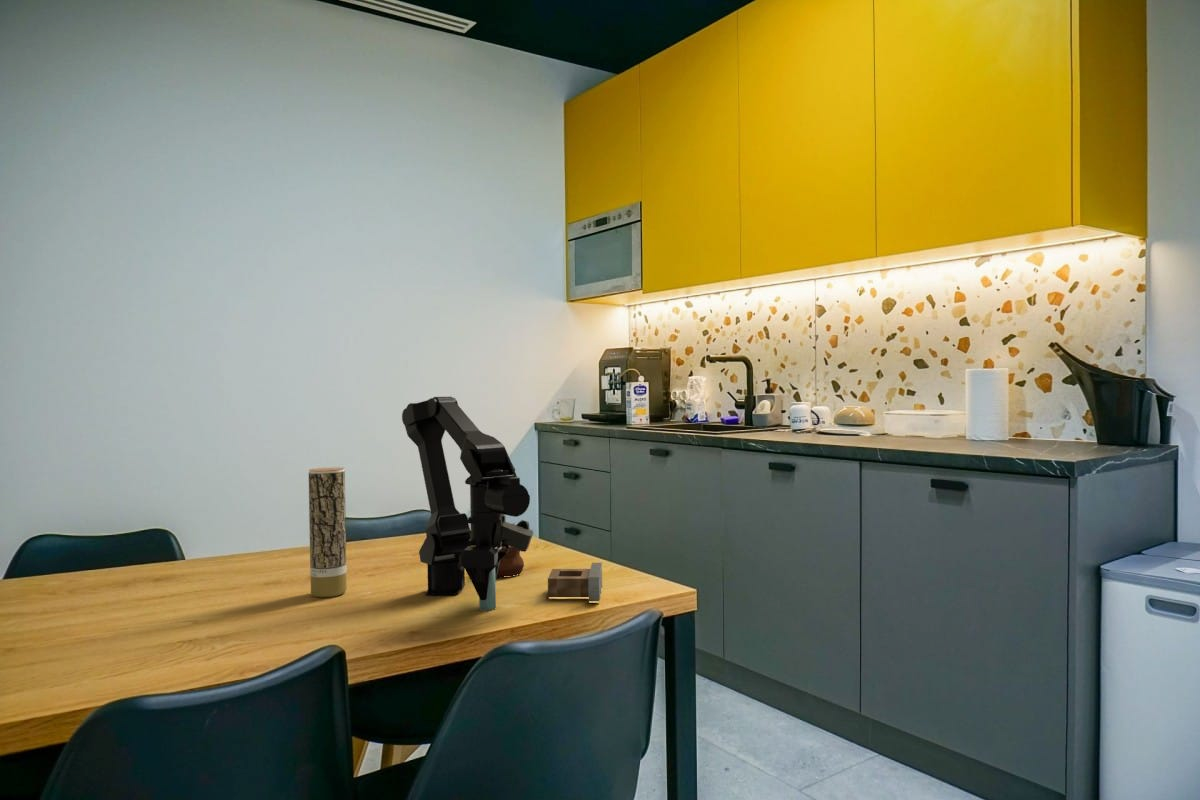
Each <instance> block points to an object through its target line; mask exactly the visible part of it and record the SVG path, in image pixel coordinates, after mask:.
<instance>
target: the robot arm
mask: <svg viewBox="0 0 1200 800" xmlns="http://www.w3.org/2000/svg"><path fill="white" fill-rule="evenodd" d="M401 420H402V423H403V425H404V428H405V431H406V435H407V437H408V438H409V439H410V441H412V442H413V444H415V445H416V446H417V448H418V454H419V459H420V464H421V471H422V474H423V480H424V484H425V489H426V493H427V494H426V495H427V499H428V505H429V510H430V517H429V519H428V521H427V525H426V527H425V535H426V537H425V539H424V541H423V543H422V545H421V546H420V548H419V551H418V556H419V559H420V562H421V563H423V564H426V565H427V589H426V591H424V593H425V595H427V596H429V595H430V596H431V595H433V596H435V595H438V596H440V595H443V596H444V595H446V596H448V595H450V596H451V595H452V596H453V595H454V596H455V595H459V593H460V592H461V591H462V590H463V589H464V587H465V586H466V582H465V581H466V580H465V579H466V578H465V575H467V576H468V577H469V580H470V582H471V584H472V585H473V587H474V589H475V592H476V594H477V596H478V598H480V600H486V599H487V594H488V588H489V581H490V574H491V571H492V570H493V569H494V568H495V584H496V582H497V573H498V568H499V564H500V560H501V559H502V558H503V557H504V555H505V554H506V553H507V552H508V551H509V549H501V546H502V545H506V548H509V547H510V546H512V547H514V548H517V549H518V550H519V551H520V552H524V553H525V552H527V550H528V549H529V547H530V544H531V541H532V538H533V535H534V531H533V529H531V528H530V522H529V521H527V520H524V519H521V520H520V521H518V522H517V524H515V523H513V522H512V523H510V522H507V520H506V516H509V517H519V516H522V515H523V514H524V513H526V512H527V510H528V508H529V506H530V502H531V496H530V494H529V492H528V489H527V488H526V487H525V486H524V485H523V484H521V478H520V477H519V476H518V475H517V474H516V468H515V466H514V464H513V463H512V461H511V458H510V457H509V454H508V451H507V449H506V447H505V445H504V444H503V443H502V442H501V441H499V440H498V438H496V437H494V436H492V435H489V434H487V433H484V432H482V431H481V430H480V429H479V428H478V427H477V426H476V424H475V423H474V421H472V420H471V418H470V417H469V416H468V415H467V414H466V413H465V412H464V410H463V409H462V408H461V407H460V405H459V403H458V400H457V398H455V397H453V396H433V397H430V398H429V399H427V400H423V401H420V402H412V403H411V402H410V403H408V404H407V405H406V408H404V409H403V410H402V413H401ZM445 432H447V434H448V435H449V436H450V438H451V439H452V440H453V441H454V442H455V444H456V445H457V447H458V448H459V450H460V456H459V460H460V461H461V463H462V465H463V466H464V469H465V470H466V471H467V472H468V474H469V477H467V478H466V479H465V481H464V483H465V485H469V490H470V491H469V496H470V497H469V498H470V499H469V500H470V501H469V502H470V503H469V504H470V505H469V506H470V507H469V508H470V516H468V515H467V514H466V513H465V512H464V513H463V512H462V513H461V512H459V510H458V509H457V508H456V504H455V500H454V496H453V495H454V494H453V490H452V485H451V482H450V477H449V472H448V466H447V465H448V464H447V462H446V461H447V460H446V456H445V452H444V446H443V438H444V435H445ZM465 571H466V572H467V573H466V572H465ZM465 573H466V574H465Z"/></svg>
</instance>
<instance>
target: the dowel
mask: <svg viewBox="0 0 1200 800" xmlns="http://www.w3.org/2000/svg"><path fill="white" fill-rule="evenodd" d="M496 587H497V585H496V583H495V568H494V569H493V570H492V571H491V574H490V581H489V588H488V594H487V599H486V600H480V598H479V597H478V598H479V600H478V602H479V603H478V604H479V611H483V610H490V611H493V610H492V609H494V610H496V609H497V605H496V604H497V602H496V601H497V599H496V594H497V593H496V590H497V589H496ZM495 608H496V609H495Z"/></svg>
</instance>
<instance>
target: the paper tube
mask: <svg viewBox="0 0 1200 800" xmlns="http://www.w3.org/2000/svg"><path fill="white" fill-rule="evenodd" d="M308 507H309V508H308V510H309V511H308V512H309V514H308V518H309V520H308V521H309V560H310V561H309V565H310V568H309V570H310V571H309V573H310V575H309V576H310V594H311V595H312V596H313V597H315V598H332V597H338V596H341V595H343V594H345V593H346V591H347V586H348V585H347V583H348V582H347V535H346V534H347V531H346V529H347V527H346V523H347V522H346V519H347V518H346V473H345V467H316V468H310V469H308Z"/></svg>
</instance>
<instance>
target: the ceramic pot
mask: <svg viewBox="0 0 1200 800" xmlns="http://www.w3.org/2000/svg"><path fill="white" fill-rule="evenodd" d="M501 549H509V551H508V552H507V553H506V554H505V555H504V557H503V558H502V559H501V560H500V564H499V568H498V573H497V577H504V576H513V575H517V574H520V573H521V572H523V571H524V570H523V569H524V567H525V564H524V559H523V557H522V556H521V553H520V552H521V551H519V550H518V549H517V548H514V547H512V546H510V547H509V548H506V545H502V546H501ZM521 574H522V573H521ZM521 574H520V575H521Z"/></svg>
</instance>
